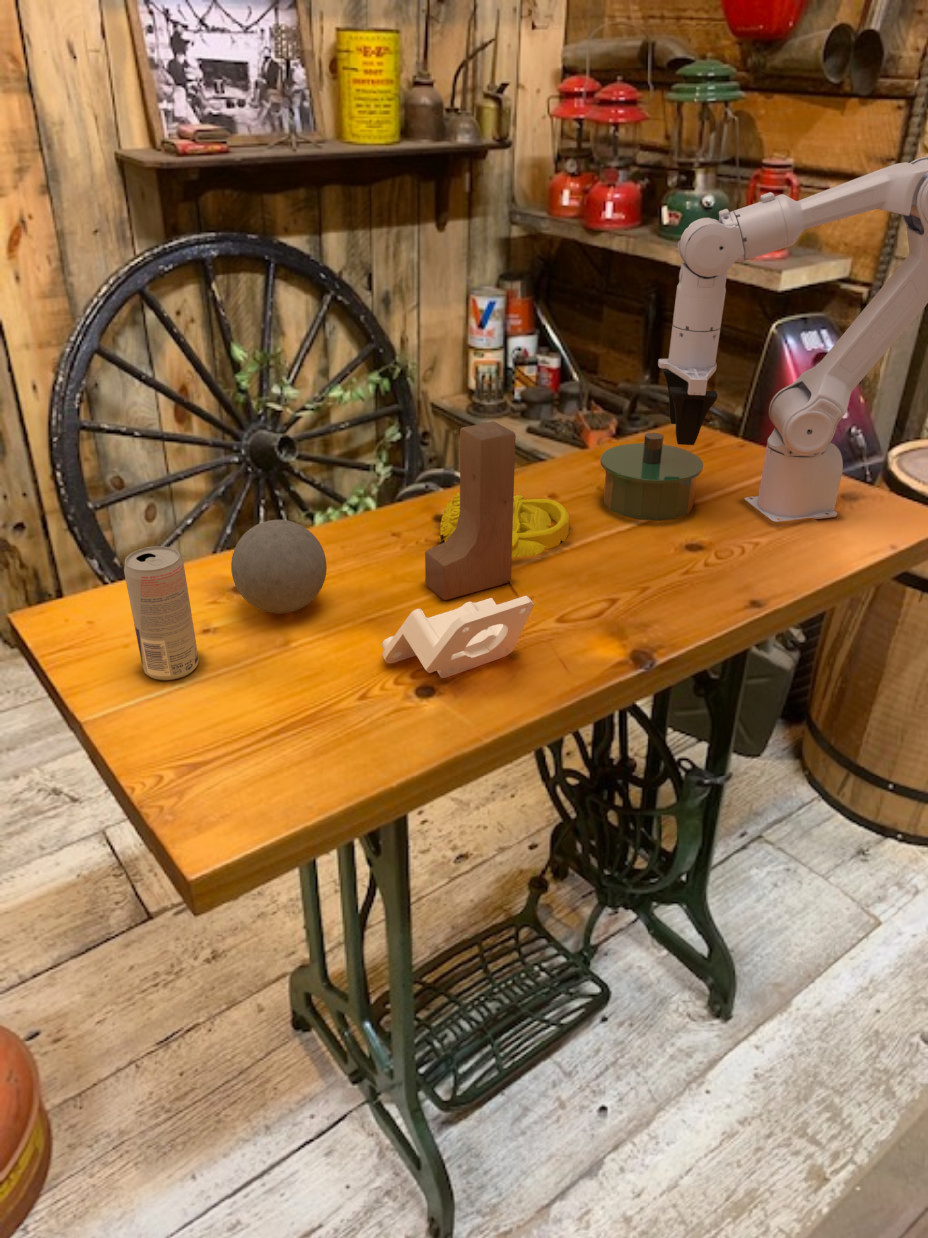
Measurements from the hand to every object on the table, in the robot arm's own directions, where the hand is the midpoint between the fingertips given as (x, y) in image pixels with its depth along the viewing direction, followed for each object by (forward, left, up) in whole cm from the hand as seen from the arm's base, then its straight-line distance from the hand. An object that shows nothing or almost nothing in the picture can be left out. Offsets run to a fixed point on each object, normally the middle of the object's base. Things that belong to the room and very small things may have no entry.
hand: (682, 433), depth 126 cm
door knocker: (+24, +2, -10) cm, 26 cm away
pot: (+3, -1, -10) cm, 11 cm away
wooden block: (+32, +14, -10) cm, 37 cm away
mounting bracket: (+38, +30, -10) cm, 50 cm away
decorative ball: (+53, +14, -10) cm, 56 cm away
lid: (+3, -1, -4) cm, 5 cm away
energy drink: (+65, +23, -10) cm, 70 cm away
